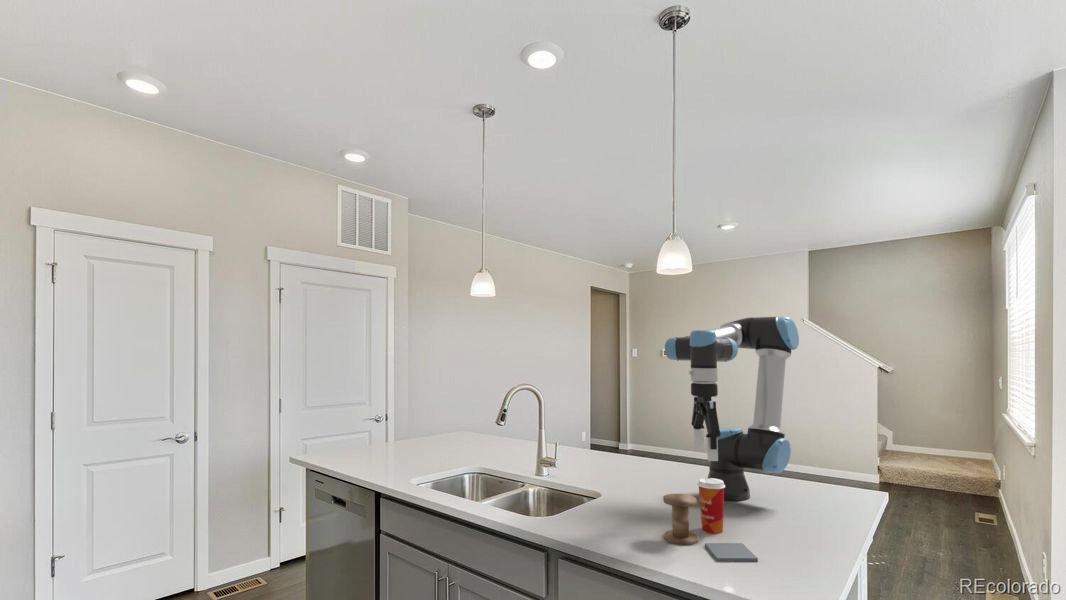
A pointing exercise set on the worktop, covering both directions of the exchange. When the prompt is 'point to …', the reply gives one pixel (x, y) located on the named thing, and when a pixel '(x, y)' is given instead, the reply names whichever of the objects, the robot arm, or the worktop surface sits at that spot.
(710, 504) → the paper cup
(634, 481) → the worktop surface
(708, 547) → the grey square tile
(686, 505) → the bobbin
